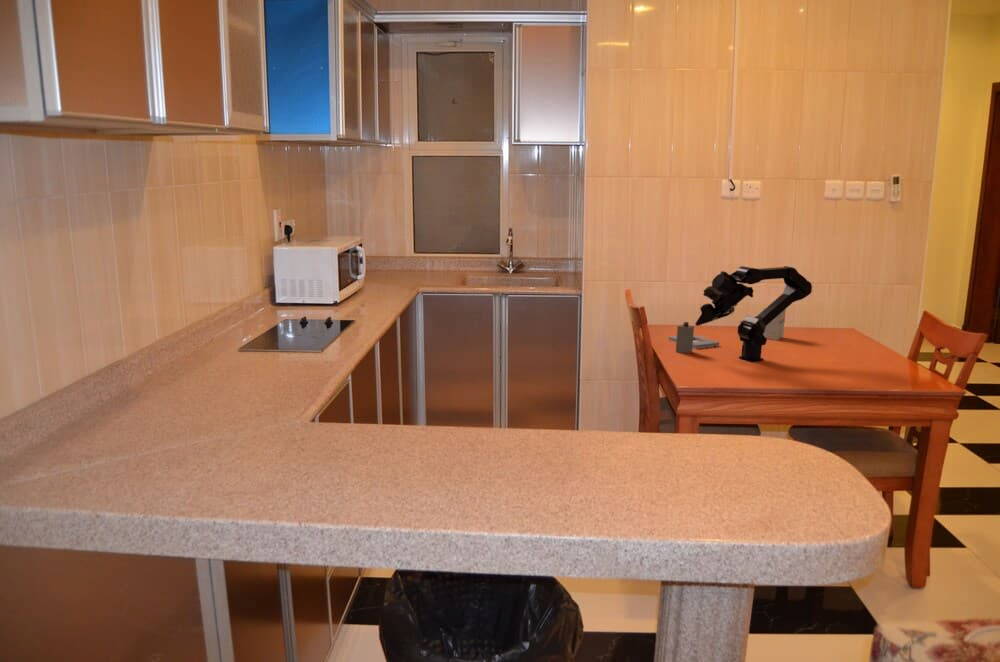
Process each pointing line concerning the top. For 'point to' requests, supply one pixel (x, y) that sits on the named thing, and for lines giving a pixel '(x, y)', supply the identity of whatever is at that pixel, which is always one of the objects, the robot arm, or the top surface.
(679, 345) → the plug
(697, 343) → the socket
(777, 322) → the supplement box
